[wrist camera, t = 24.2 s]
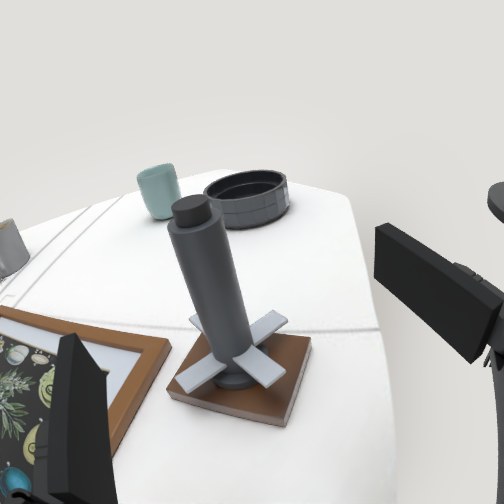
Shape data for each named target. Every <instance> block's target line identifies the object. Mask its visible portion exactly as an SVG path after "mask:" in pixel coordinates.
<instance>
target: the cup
mask: <svg viewBox="0 0 504 504" xmlns="http://www.w3.org/2000/svg"><path fill="white" fill-rule="evenodd" d="M137 182H138V185H139V188H140V192H141V195H142V198H143V200H144V203H145V205H146V208H147V210H148V211H149V213H150V214H151V216H152V217H154V218H155V219H159V220H162V219H168V218H171V217H173V213H172V210H171V206H172V204H173V203H174V202H176V201H177V200H179V199H181V192H180V187H179V183H178V179H177V176H176V172H175V169H174V166H173V164H170V163H169V164H162V165H158V166H154V167H151V168H148V169H146V170H144V171H142V172H140V173H139V174H138V175H137Z"/></svg>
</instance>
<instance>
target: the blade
mask: <svg viewBox="0 0 504 504" xmlns="http://www.w3.org/2000/svg"><path fill="white" fill-rule="evenodd" d="M171 210H172V213H173V217H174V218H173V219H172V220H171V221H170V222H169V224H168V226H167V229H168V232H169V235H170V238H171V241H172V244H173V247H174V250H175V253H176V256H177V259H178V262H179V265H180V268H181V271H182V274H183V276H184V279H185V282H186V285H187V288H188V290H189V293H190V296H191V299H192V301H193V304H194V307H195V309H196V312H197V313H196V314H195V315H193V316H192V317H190V318H189V321H190V322H191V323H192V324H193V325H194V326H195V327H196V328H198V329H199V330H200V331H201V332H202V333H203V334H204V335H205V336H206V338H207V341H208V343H209V346H210V348H211V351H210V352H209V354H208V355H207V356H206V357H204V358H203V359H201V360H200V361H198V362H197V363H195V364H194V365H192V366H191V367H189V368H188V369H186V370H185V371H183V372H182V373H180V374H179V375H177V376H175V379H176V381H177V382H178V383H179V384H180V386H181V387H182V388H183V389H184V390H185V391H186V393H187V394H188V393H190V392H191V391H193V390H194V389H196V388H197V387H199V386H200V385H202V384H203V383H205V382H206V381H208V380H209V379H212V381H213V382H214V383H215V384H216V385H218V386H219V387H222V388H224V389H228V390H242V389H246V388H249V387H251V386H253V385H255V384H257V383H258V382H259V383H260V384H262V385H263V386H264V387H265V388H268V387H269V386H270V385H272V384H273V383H274V382H275V381H277V380H278V379H279V378H280V377H282V376H283V375H284V374H285V373H286V370H285V369H284V368H283V367H281V366H280V365H279V364H277V363H276V362H274V361H273V360H272V359H270V358H269V354H268V350H267V348H266V346H265V345H264V344H263V343H262V341H264V340H265V339H266V338H268V337H269V336H270V335H272V334H273V333H274V332H276V331H277V330H278V329H279V328H281V327H282V326H283V325H285V324H286V323H287V322H288V319H287V318H286V317H284V316H282V315H281V314H279V313H277V312H276V311H274V310H272V311H271V312H269V313H268V314H266V315H265V316H264V317H262V318H261V319H259V320H258V321H257V322H255V323H254V324H252V325H251V326H249V322H248V318H247V314H246V310H245V306H244V303H243V299H242V295H241V291H240V287H239V283H238V279H237V275H236V270H235V266H234V262H233V258H232V254H231V250H230V246H229V242H228V238H227V234H226V230H225V225H224V221H223V217H222V213H221V211H220V210H218V209H216V208H212V207H210V204H209V200H208V197H207V196H206V195H202V194H197V195H191V196H187V197H184V198H181V199H179V200H177V201H176V202H174V203H173V204H172V206H171Z"/></svg>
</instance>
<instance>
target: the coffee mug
mask: <svg viewBox="0 0 504 504" xmlns="http://www.w3.org/2000/svg"><path fill="white" fill-rule="evenodd" d="M29 258H30V255H29V253H28V251H27V249H26V247H25V245H24V242H23V240H22V238H21V236H20V234H19V232H18V229H17V227H16V225H15V223H14V220H13V219H8V220H5V221H3V222H1V223H0V278H3V277H7V276H9V275H11V274H13V273H15V272H16V271H18V270H19V269H20V268H22V267H23V266H24V265H25V264H26V263H27V261H28V260H29Z"/></svg>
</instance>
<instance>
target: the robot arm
mask: <svg viewBox="0 0 504 504" xmlns="http://www.w3.org/2000/svg"><path fill="white" fill-rule="evenodd" d="M374 278H375V279H376V280H377V281H378V282H379V283H381V284H382V285H383V286H384V287H385V288H387V289H388V290H389V291H390V292H391V293H392V294H394V295H395V296H396V297H397V298H398V299H399V300H400V301H402V302H403V303H404V304H405V305H406V306H407V307H409V308H410V309H411V310H412V311H413V312H414V313H415V314H416V315H417V316H419V317H420V318H421V319H422V320H423V321H424V322H425V323H426V324H428V325H429V326H430V327H431V328H432V329H433V330H434V331H435V332H436V333H437V334H439V335H440V336H441V337H442V338H443V339H444V340H445V341H446V342H447V343H448V344H449V345H450V346H452V347H453V348H454V349H455V350H456V351H457V352H458V353H459V354H460V355H461V356H462V357H463V358H464V359H465V360H466V361H468V363H470V364H472V363H473V362H474V361H475V360H476V359H477V358H479V356H481V355H482V354H483V351H484V349H485V347H486V345H487V344H488V345H489V346H491V349H490V351H489V353H488V355H487V357H486V359H485V361H484V367H486V366H487V364H488V362H489V360H491V363H490V365H489V367H492V374H493V382H494V390H495V399H496V410H497V424H498V488H497V502H496V504H504V293H503V292H502V291H501V290H499V289H498V288H497V287H495V286H494V285H492V284H491V283H489V282H488V281H487V280H484V279H483V278H482V277H481V276H480V275H478V274H477V275H476V273H475V272H474V271H472V270H471V269H469V268H468V267H466V266H464V265H461V264H458V263H453V264H452V263H451V262H450V261H448V260H447V259H445V258H444V257H442V256H440V255H439V254H437V253H436V252H434V251H433V250H431V249H430V248H428V247H427V246H425V245H423V244H422V243H420V242H419V241H417V240H416V239H414V238H413V237H411V236H409V235H408V234H406V233H405V232H403V231H401V230H399V229H398V228H396V227H394V226H393V225H391V224H390V223H385V224H383V225H380V226H377V227H375V261H374ZM34 458H35V460H34V475H33V494H32V493H30V492H29V491H27V490H25V489H22V488H15V489H13V490H11V491H10V492H9V493H8V494H7V496H6V498H5V502H4V504H118V500H117V494H116V488H115V481H114V473H113V465H112V456H111V447H110V436H109V422H108V406H107V377H106V375H105V374H104V373H103V371H102V370H101V369H100V367H99V366H98V365H97V363H96V362H95V360H94V359H93V358H92V356H91V355H90V353H89V352H88V350H87V349H86V347H85V346H84V344H83V343H82V341H81V340H80V338H79V337H78V335H77V334H76V332H75V333H72V334H69V335H66V336H62V337H60V340H59V345H58V351H57V357H56V364H55V371H54V378H53V386H52V394H51V404H50V415H49V420H47V421H42V422H40V425H39V427H38V429H37V432H36V434H35V450H34Z"/></svg>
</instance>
